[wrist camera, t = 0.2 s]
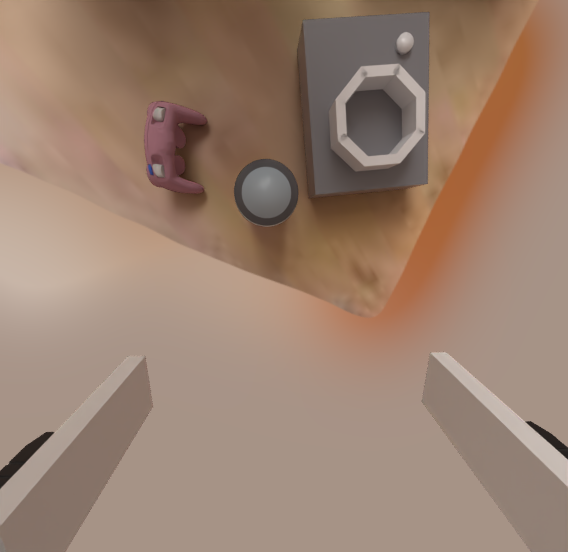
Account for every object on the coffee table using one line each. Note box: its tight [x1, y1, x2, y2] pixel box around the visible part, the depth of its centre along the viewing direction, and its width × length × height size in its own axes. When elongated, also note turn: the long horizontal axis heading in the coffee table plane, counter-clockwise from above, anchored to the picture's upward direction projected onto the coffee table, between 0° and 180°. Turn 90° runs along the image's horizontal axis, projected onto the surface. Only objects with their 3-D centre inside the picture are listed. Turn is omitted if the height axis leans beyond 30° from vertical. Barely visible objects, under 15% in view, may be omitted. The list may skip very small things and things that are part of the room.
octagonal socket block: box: [297, 12, 429, 198], centre depth 32 cm, size 18×14×8 cm
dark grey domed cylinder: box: [234, 159, 298, 227], centre depth 31 cm, size 6×6×12 cm
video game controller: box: [144, 101, 207, 194], centre depth 32 cm, size 10×5×7 cm, turn 175°
